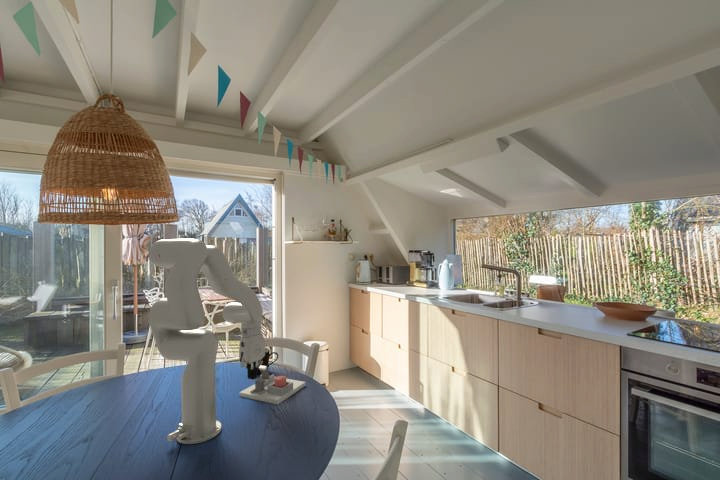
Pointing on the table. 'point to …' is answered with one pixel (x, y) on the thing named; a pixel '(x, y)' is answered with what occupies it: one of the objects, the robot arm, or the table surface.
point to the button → (280, 381)
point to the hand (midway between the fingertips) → (252, 378)
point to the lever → (264, 371)
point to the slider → (259, 385)
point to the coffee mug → (265, 360)
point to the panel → (273, 390)
